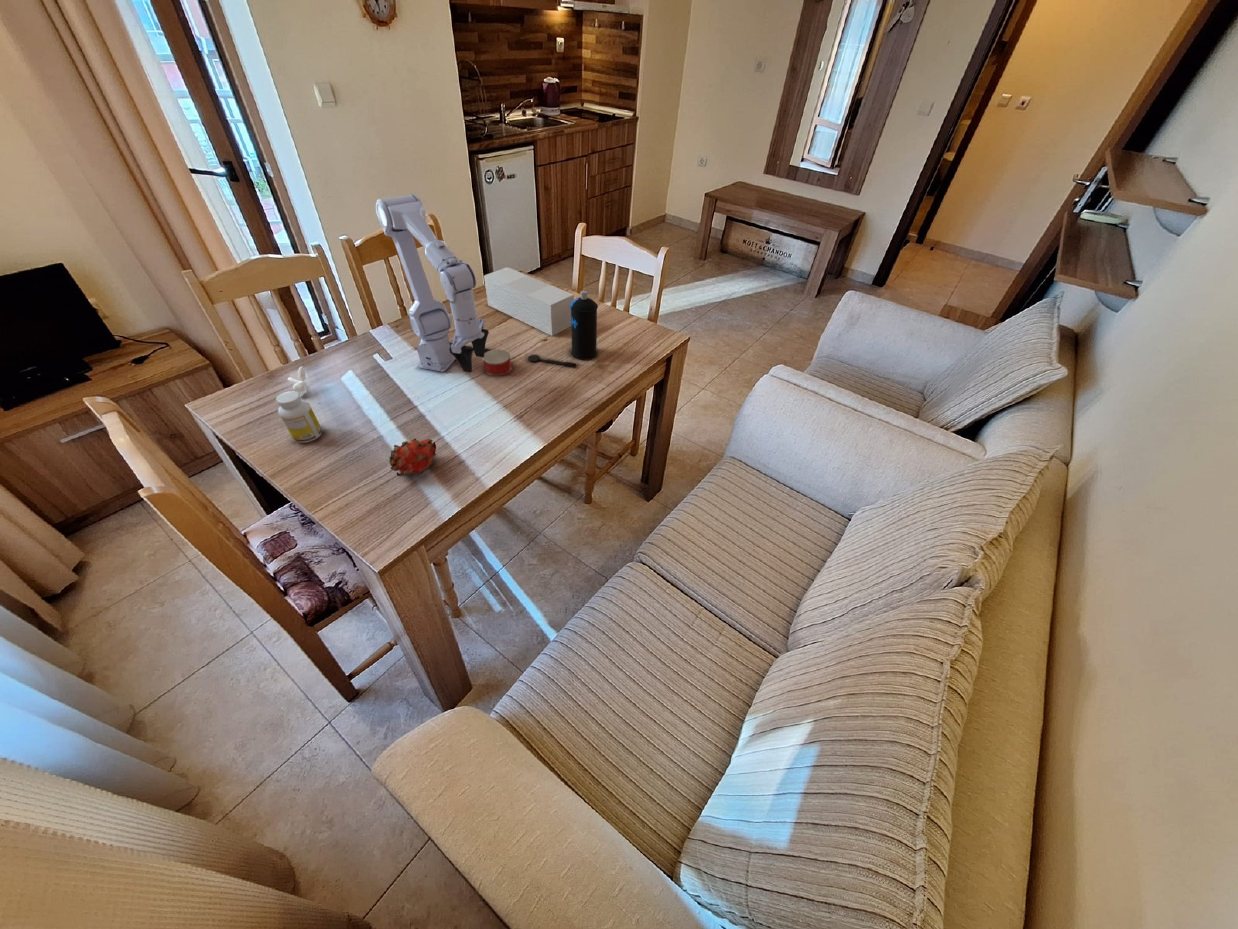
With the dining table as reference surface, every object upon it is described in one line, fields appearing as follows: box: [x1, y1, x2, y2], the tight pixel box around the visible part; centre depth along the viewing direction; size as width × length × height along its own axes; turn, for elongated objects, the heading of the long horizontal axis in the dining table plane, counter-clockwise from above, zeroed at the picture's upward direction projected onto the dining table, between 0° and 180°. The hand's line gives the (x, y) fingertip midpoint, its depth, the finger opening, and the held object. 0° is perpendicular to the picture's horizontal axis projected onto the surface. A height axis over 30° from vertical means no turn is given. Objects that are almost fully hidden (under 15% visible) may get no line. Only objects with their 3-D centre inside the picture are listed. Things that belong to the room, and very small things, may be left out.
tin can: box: [482, 349, 513, 377], centre depth 140 cm, size 8×8×4 cm
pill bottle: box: [275, 390, 323, 444], centre depth 113 cm, size 6×6×12 cm
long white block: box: [483, 266, 575, 337], centre depth 163 cm, size 32×11×11 cm, turn 51°
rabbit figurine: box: [287, 365, 309, 397], centre depth 128 cm, size 6×4×8 cm
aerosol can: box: [570, 290, 599, 361], centre depth 143 cm, size 8×8×20 cm
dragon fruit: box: [388, 437, 437, 477], centre depth 108 cm, size 8×8×12 cm
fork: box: [449, 342, 491, 353], centre depth 149 cm, size 2×15×1 cm, turn 77°
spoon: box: [527, 354, 577, 368], centre depth 145 cm, size 4×15×1 cm, turn 77°
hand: (474, 363), depth 126 cm, fingers open, 7 cm apart
